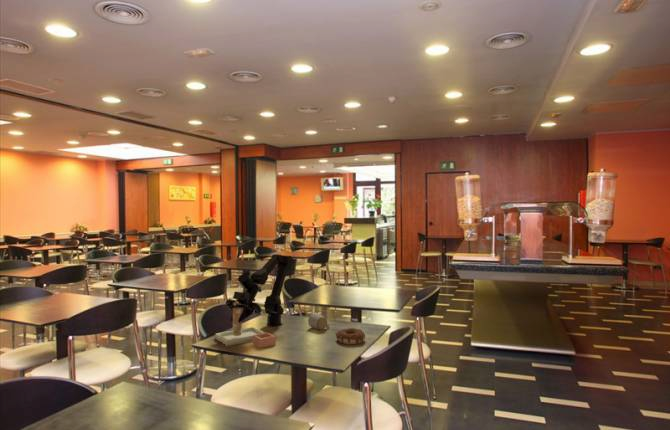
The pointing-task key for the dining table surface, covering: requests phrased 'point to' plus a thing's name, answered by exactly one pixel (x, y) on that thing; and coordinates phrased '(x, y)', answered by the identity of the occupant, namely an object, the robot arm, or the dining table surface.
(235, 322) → the dowel
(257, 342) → the square frame
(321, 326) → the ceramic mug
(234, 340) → the tray
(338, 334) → the donut
